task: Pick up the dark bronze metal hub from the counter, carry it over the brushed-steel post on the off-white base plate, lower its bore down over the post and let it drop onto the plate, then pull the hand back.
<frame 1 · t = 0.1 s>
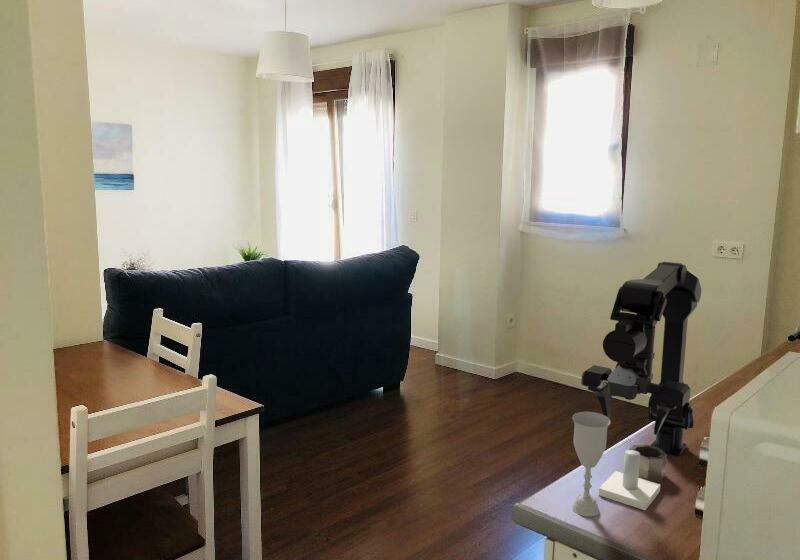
hand: (631, 427, 123), 15 cm above the table, fingers open, 9 cm apart
post plate: (629, 493, 128), on the table
chalice: (585, 510, 122), on the table
hub: (645, 474, 135), on the table
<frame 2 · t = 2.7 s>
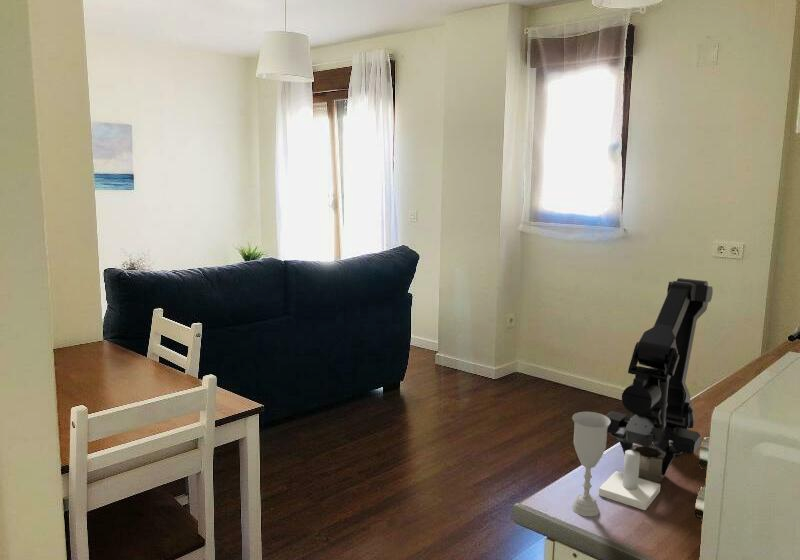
hand: (646, 469, 135), 1 cm above the table, fingers closed on hub, 7 cm apart
hub: (645, 474, 135), on the table, touching gripper
everything else where it was.
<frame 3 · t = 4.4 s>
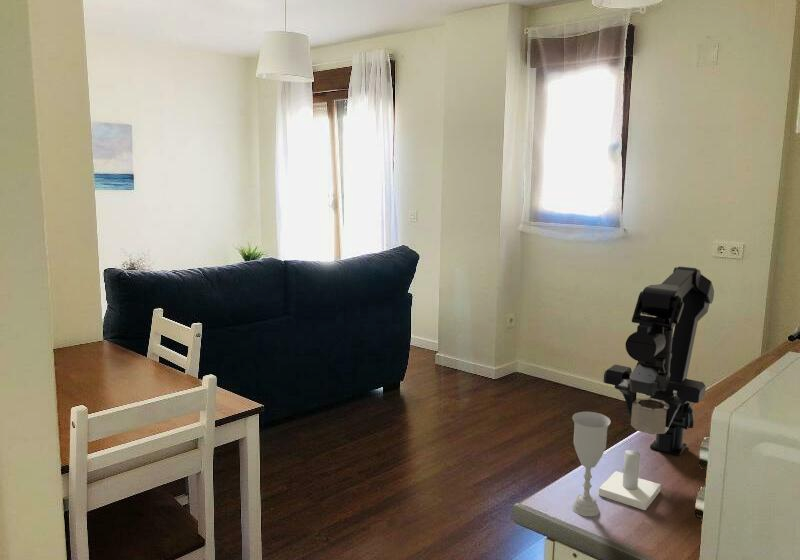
hand: (649, 422, 133), 12 cm above the table, fingers closed on hub, 7 cm apart
hub: (649, 427, 133), point 11 cm above the table, touching gripper
everything else where it was.
when the fingers open (7 cm above the table, at t = 6.6 s): hub drops 5 cm, resting on post plate.
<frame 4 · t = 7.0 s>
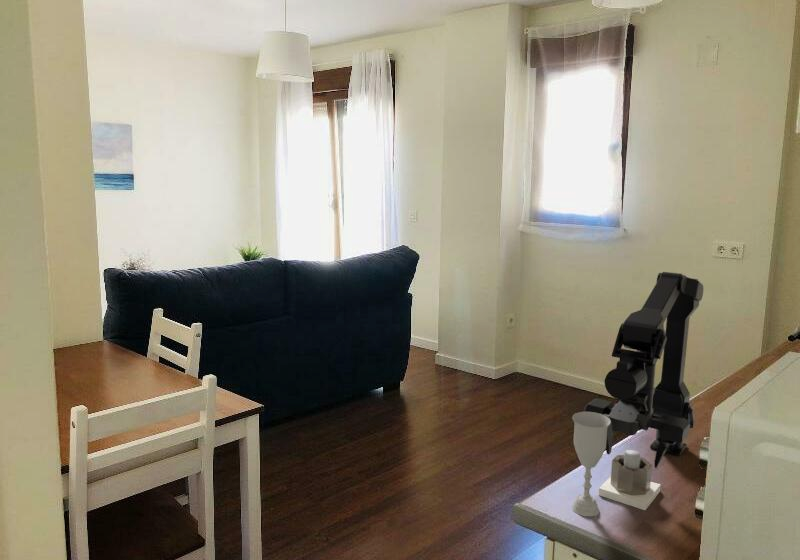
hand: (632, 460, 126), 7 cm above the table, fingers open, 9 cm apart
hub: (630, 486, 127), point 1 cm above the table, touching post plate
everything else where it was.
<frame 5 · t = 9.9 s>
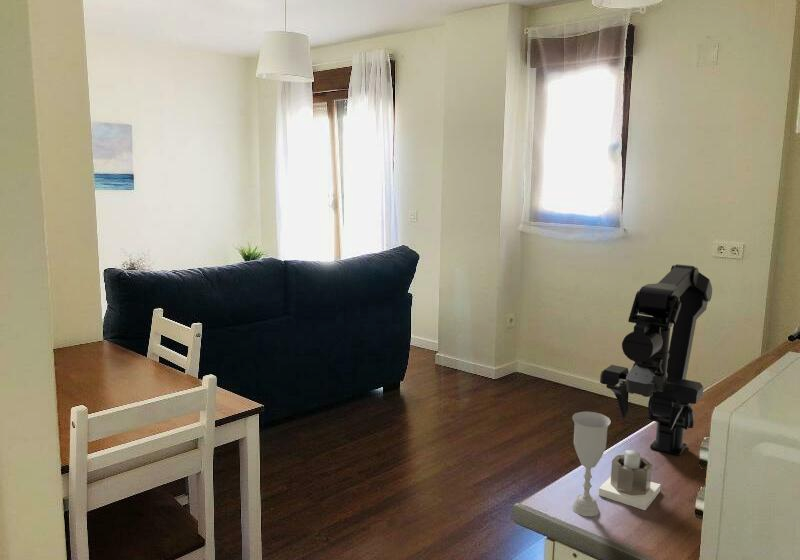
hand: (647, 423, 131), 12 cm above the table, fingers open, 9 cm apart
nothing on the table moved.
at the end: hub 0.0 cm from the post plate (horizontally); hub point 1.5 cm above the table; hub tilted 0° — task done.
